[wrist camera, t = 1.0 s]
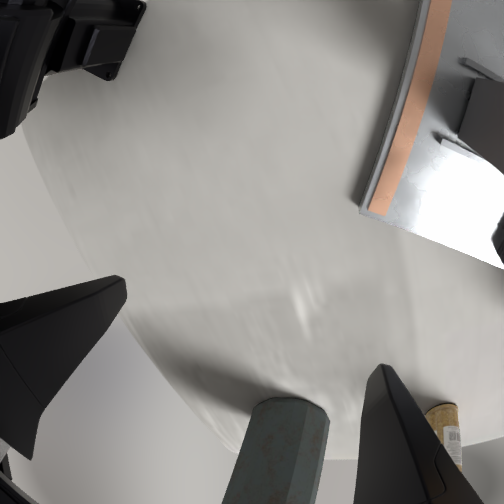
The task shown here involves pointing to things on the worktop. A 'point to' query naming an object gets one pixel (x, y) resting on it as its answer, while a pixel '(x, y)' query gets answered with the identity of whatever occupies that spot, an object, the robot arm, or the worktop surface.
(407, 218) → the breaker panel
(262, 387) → the worktop surface
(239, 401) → the worktop surface
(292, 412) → the bottle
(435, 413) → the sprinkles bottle
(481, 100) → the handle
